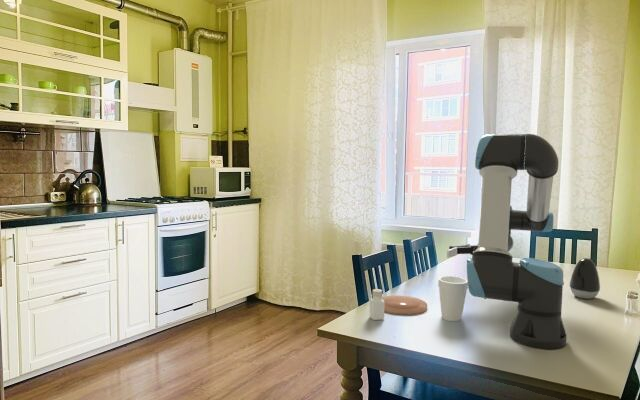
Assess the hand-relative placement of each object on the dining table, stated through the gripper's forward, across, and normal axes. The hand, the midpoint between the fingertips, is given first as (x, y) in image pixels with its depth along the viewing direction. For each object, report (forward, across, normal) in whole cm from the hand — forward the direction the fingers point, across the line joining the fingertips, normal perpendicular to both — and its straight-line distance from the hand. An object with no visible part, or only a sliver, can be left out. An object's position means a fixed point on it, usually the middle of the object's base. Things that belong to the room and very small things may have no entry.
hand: (466, 257), depth 161 cm
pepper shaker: (+28, +18, -19) cm, 38 cm away
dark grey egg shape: (-48, -27, -20) cm, 58 cm away
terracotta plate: (+11, +18, -19) cm, 29 cm away
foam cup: (+10, 0, -19) cm, 22 cm away
